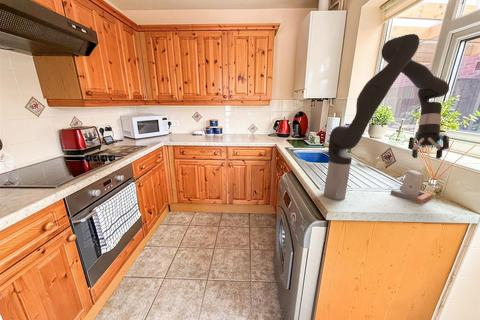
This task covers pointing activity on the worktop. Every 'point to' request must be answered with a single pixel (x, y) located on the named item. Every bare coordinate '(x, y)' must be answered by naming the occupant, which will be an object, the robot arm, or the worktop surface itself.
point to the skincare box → (412, 182)
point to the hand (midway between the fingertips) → (426, 158)
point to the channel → (422, 196)
